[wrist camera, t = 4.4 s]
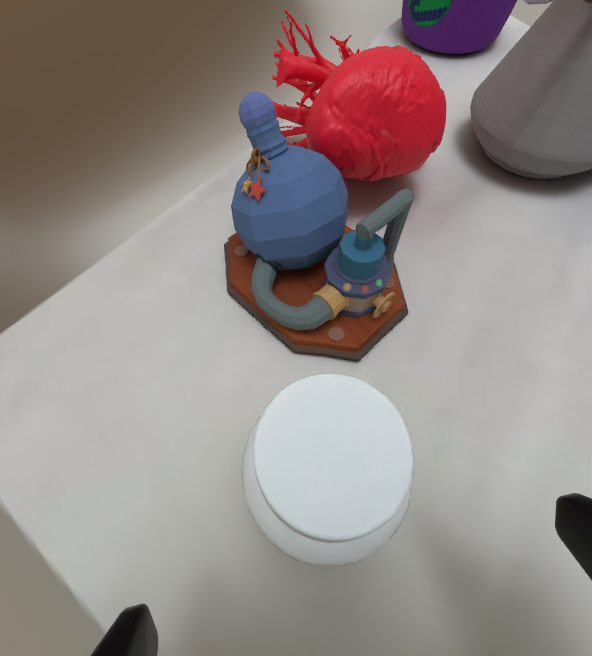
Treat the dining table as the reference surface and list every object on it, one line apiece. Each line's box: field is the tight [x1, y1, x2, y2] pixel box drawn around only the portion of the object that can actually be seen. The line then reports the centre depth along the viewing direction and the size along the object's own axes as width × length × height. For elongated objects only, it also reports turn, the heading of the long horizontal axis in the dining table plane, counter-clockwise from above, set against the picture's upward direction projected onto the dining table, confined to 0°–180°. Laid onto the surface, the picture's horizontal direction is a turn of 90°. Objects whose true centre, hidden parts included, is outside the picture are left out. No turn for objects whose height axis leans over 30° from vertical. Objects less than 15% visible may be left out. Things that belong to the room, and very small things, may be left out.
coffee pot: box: [471, 0, 592, 179], centre depth 21 cm, size 21×12×15 cm, turn 136°
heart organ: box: [272, 10, 446, 181], centre depth 25 cm, size 10×12×12 cm
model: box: [224, 92, 414, 361], centre depth 19 cm, size 12×9×9 cm
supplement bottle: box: [242, 374, 414, 566], centre depth 13 cm, size 5×5×10 cm
